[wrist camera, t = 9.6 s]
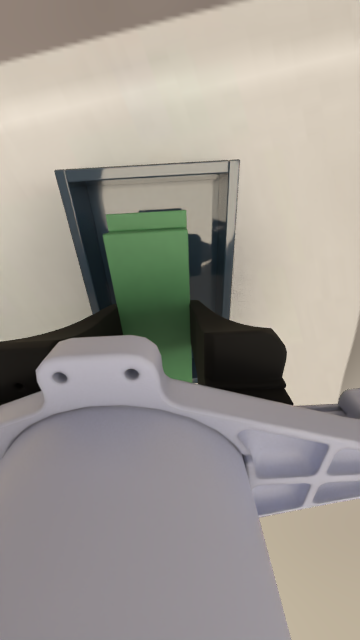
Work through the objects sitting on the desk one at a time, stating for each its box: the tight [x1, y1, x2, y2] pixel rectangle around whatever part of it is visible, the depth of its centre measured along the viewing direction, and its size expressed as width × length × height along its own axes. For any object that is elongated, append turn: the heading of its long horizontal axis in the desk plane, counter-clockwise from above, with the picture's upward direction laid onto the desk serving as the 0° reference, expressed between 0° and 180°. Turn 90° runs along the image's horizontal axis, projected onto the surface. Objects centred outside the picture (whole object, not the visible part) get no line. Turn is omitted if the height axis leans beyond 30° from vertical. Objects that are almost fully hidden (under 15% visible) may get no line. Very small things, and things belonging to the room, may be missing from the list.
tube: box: [103, 210, 192, 383], centre depth 14 cm, size 12×4×3 cm, turn 3°
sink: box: [54, 159, 240, 383], centre depth 17 cm, size 10×16×4 cm, turn 3°
